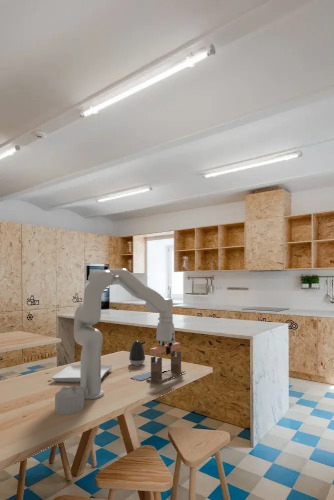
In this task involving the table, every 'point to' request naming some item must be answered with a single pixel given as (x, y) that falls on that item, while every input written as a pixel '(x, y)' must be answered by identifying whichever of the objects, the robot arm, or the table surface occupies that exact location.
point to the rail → (163, 348)
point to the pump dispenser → (137, 353)
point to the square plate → (76, 373)
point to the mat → (142, 376)
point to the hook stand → (175, 371)
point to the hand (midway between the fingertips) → (165, 353)
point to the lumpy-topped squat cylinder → (69, 400)
